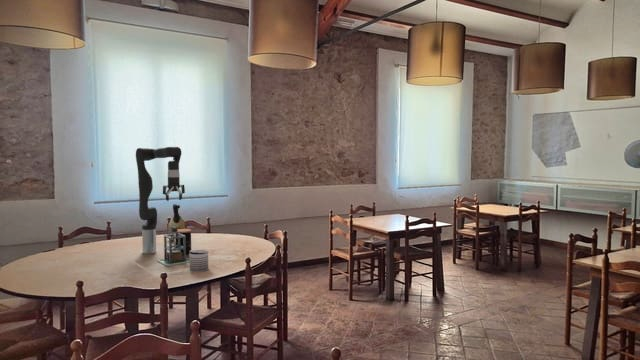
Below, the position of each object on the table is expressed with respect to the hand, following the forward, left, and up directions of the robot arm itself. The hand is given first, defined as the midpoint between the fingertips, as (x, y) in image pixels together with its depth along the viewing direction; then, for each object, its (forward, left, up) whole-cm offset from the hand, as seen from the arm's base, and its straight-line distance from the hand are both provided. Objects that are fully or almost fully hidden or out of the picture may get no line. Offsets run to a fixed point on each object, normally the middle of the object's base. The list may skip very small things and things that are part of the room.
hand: (173, 200), depth 293 cm
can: (+35, +2, -40) cm, 53 cm away
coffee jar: (-5, +8, -40) cm, 41 cm away
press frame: (+11, -4, -39) cm, 41 cm away
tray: (+11, -4, -40) cm, 42 cm away
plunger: (+11, -4, -33) cm, 35 cm away
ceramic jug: (-58, +24, -40) cm, 75 cm away
